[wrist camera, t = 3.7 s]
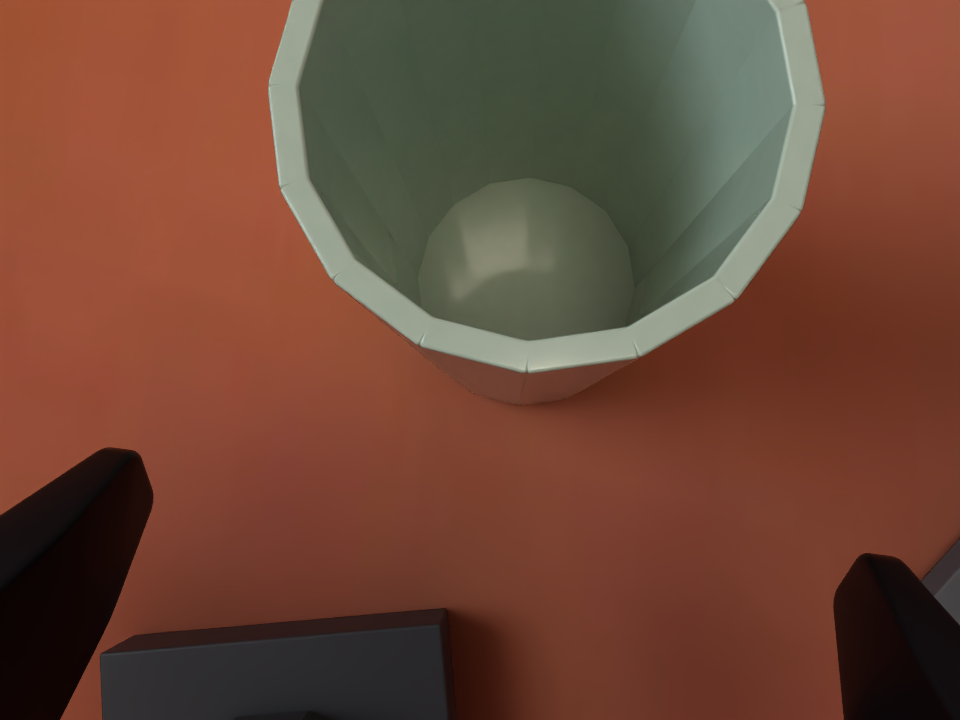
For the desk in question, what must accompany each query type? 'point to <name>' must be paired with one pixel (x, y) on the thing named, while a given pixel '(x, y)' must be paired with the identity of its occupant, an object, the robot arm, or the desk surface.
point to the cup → (544, 170)
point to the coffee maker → (946, 581)
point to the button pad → (286, 671)
